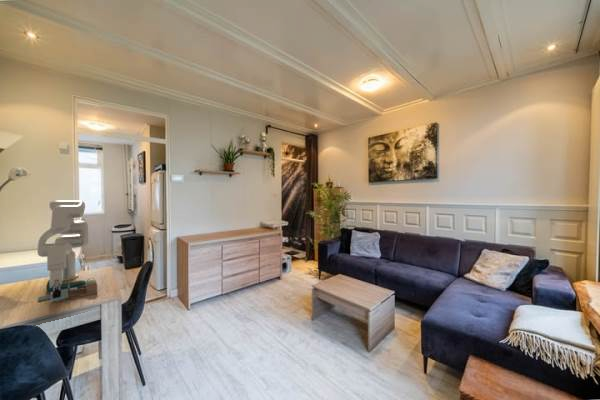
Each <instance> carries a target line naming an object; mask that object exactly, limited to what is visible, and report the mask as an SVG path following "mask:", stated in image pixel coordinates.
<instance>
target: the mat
mask: <svg viewBox="0 0 600 400" xmlns="http://www.w3.org/2000/svg"><path fill="white" fill-rule="evenodd" d="M49 300H50V301H51V294H48V295H43V296H42V295H41V296H39V297H38V300H37V301H38V303H40V302H46V301H49Z"/></svg>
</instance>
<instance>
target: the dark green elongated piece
mask: <svg viewBox="0 0 600 400" xmlns="http://www.w3.org/2000/svg"><path fill="white" fill-rule="evenodd" d="M86 281H87V280H86V279H85V280H84V279H82V280H77V281H76V280H75V281H71V282H64V281H62V285H61V290H65V289H68V285H70V288H75V287H79V286H84V285H85V282H86ZM63 282H64V283H63ZM45 289H46V294H49V293H51V292H53V287H51V288H50V278H49V279H48V281H47V283H46V288H45Z"/></svg>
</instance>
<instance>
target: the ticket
mask: <svg viewBox="0 0 600 400" xmlns="http://www.w3.org/2000/svg"><path fill="white" fill-rule="evenodd" d="M76 289H77V287H74V288H70V291H71V290H76ZM50 295H51V299H50V302H51V303H53V302H58V301H62V300H66V298H67V299H68V289H64V290H61V297H58V298H54V299H53V292H50Z"/></svg>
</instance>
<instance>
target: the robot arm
mask: <svg viewBox="0 0 600 400" xmlns="http://www.w3.org/2000/svg"><path fill="white" fill-rule="evenodd" d="M48 205H49V208H50V209H51V222H50V223H51V224H50V228H49V229H47V230H46V231H45V232H44V233H42V235H41V236H40V237H39V240H38V242H37V255H38V256H39V257H42V258H45V257H46V258H47V259H46V260H47V261H46V262H47V265H46V267H47V268H46V269H47V270H46V271H49V279H50V288H51V287H53V299H54V298H58V297H61V285H62V281H63V282H64V281H65V282H66V281H70V280H73V279H76V278H78V277H79V274H78V273H76V252H75V251H74V250H73V249H75V248H76V249H77V248H85V247H87V246H88V245H89V225H88V222H87V221H85V220H74V219H79V218H82V217H83V216H84V214H85V209H86V203H85V202H84V201H83V200H79V199H78V200H69V199H67V200H63V199H62V200H61V199H60V200H52V201H50V202H49V204H48ZM58 234H59V235H61V236H58V237H56V238H55V240H54V243H46V242H47V241H48V240H49V239H50V238H52V237H54V236H56V235H58Z"/></svg>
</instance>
